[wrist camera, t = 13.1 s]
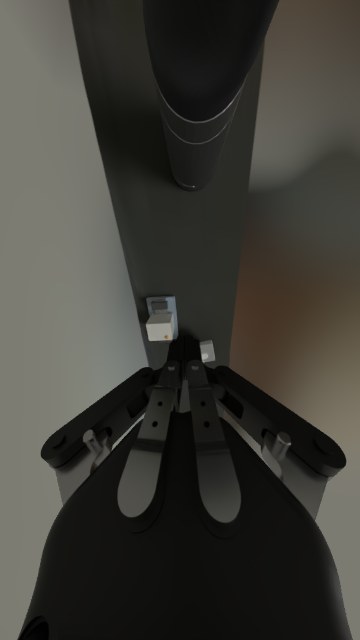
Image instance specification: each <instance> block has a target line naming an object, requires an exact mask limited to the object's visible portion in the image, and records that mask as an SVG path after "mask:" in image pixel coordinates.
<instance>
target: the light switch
mask: <svg viewBox="0 0 360 640" xmlns="http://www.w3.org/2000/svg"><path fill="white" fill-rule="evenodd" d="M200 348H201V355H202V361H203V362H208V361H214V360H215V356H214V350H213V344H212V340H210V341H205V342H200Z"/></svg>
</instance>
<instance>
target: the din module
mask: <svg viewBox="0 0 360 640" xmlns="http://www.w3.org/2000/svg"><path fill="white" fill-rule="evenodd" d="M146 328H147V332H148V337H149V341H160V340H172V339H173V333H174V318H173V312H171V314H154V313H152V314H151V316H150V318H149V320H148V321H147V323H146Z"/></svg>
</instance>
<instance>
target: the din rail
mask: <svg viewBox="0 0 360 640" xmlns="http://www.w3.org/2000/svg"><path fill="white" fill-rule="evenodd" d="M151 308H152V310H155V313H156V314H168V301H167V299H166V298H163V299H154V300H153V301H152V302H151ZM171 342H172V340H160V341H158V343H171Z"/></svg>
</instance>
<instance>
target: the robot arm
mask: <svg viewBox="0 0 360 640" xmlns="http://www.w3.org/2000/svg"><path fill="white" fill-rule="evenodd" d="M278 2H279V0H143V15H144V24H145V31H146V38H147V44H148V49H149V54H150V59H151V65H152V70H153V76H154V81H155V86H156V92H157V97H158V102H159V107H160V113H161V118H162V123H163V129H164V134H165V140H166V145H167V150H168V156H169V161H170V166H171V171H172V174H173V177H174V179H175V181H176V182H177V183H178V185H179V186H180V187H182V188H183V189H185V190H187V191H197V190H199V189H201V188H203V187H204V186H205V185H206V184H207V183H208V182H209V181H210V179H211V177H212V176H213V173H214V171H215V168H216V165H217V162H218V159H219V156H220V153H221V151H222V148H223V145H224V142H225V139H226V136H227V133H228V130H229V127H230V124H231V121H232V118H233V115H234V113H235V110H236V107H237V103H238V100H239V97H240V94H241V92H242V89H243V86H244V83H245V80H246V77H247V74H248V72H249V71H250V69H251V67H252V66H253V64H254V62H255V60H256V58H257V56H258V53H259V51H260V48H261V46H262V43H263V41H264V39H265V36H266V33H267V31H268V28H269V25H270V23H271V20H272V18H273V15H274V12H275V10H276V7H277V5H278ZM185 374H186V380H188V391H189V401H190V411H189V412H185V413H180V403H181V395H182V384H183V380H185ZM215 401H216V402H217V403H218V404H219V405H220V406H221V407H222V408H223V409H224V410H225V411H226V412H227V413H228V414H229V415H230V416H231V417H232V418H233V419H234V420H235V421H236V422H237V423H238V424H239V425H240V426H241V427H242V428H243V429H244V430H245V431H246V432H247V433H248V434H249V435H250V436H251V437H252V438H253V439H254V440H255V441H256V442H257V443H258V444H259V445H260V446H261V453H262V456H263V458H264V460H265V461H266V463H267V464H268V465H269V467H270V468H271V469H272V470H271V469H270V468H269V467H268V466H267V465H266V463H265V462H264V461H263V460H262V459H261V458H260V457H259V456H258V455H257V453H256V452H255V451H254V450H253V449H252V448H251V447H250V446H249V445H248V443H247V442H246V441H245V440H244V439H243V438H242V437H241V436H240V435H239V433H238V432H237V431H236V430H235V429H234V428H233V427H232V426H231V425H230V424H229V423H228V422H227V421H225V420H224V419H223V418H221V417H219V415H218V411H217V407H216V404H215ZM144 413H145V416H144V418H143V419H142V420H141V421H139V422H138V423H137V424H136V425H135V426H134V427H133V428H132V429H131V431H130V432H129V433H128V434H127V435H126V436H125V437H124V438H123V439H122V440H121V441H120V443H119V444H118V445H117V446H116V447H115V448H114V449H113V450H112V446H113V444H114V443H115V442H116V441H117V440H118V439H119V438H120V437H121V436H122V435H123V434H124V433H125V432H126V431H127V430H128V429H129V428H130V427H131V426H132V425H133V424H134V423H135V422H136V421H137V420H138V419H139V418H140V417H141V416H142V415H143V414H144ZM41 457H42V458H43V459H44V460H45V461H46V462H47V463H49V466H50V467H51V468H53V469H54V470H55V471H56V476H57V480H58V485H59V489H60V493H61V498H62V502H63V507H62V509H61V510H60V512H59V514H58V515H57V517H56V519H55V521H54V523H53V525H52V527H51V529H50V532H49V534H48V537H47V540H46V543H45V546H44V549H43V554H42V558H41V563H40V568H39V573H38V577H37V582H36V586H35V589H34V593H33V596H32V599H31V603H30V606H29V609H28V612H27V615H26V618H25V621H24V624H23V627H22V629H21V632H20V635H19V637H18V639H17V640H353V639H352V636H351V633H350V629H349V625H348V621H347V617H346V613H345V608H344V604H343V598H342V593H341V586H340V581H339V576H338V573H337V569H336V566H335V562H334V559H333V557H332V554H331V552H330V549H329V547H328V545H327V542H326V540H325V538H324V536H323V534H322V532H321V531H320V529H319V527H318V526H317V524H316V522H315V519H316V516H317V513H318V509H319V506H320V503H321V500H322V497H323V493H324V490H325V487H326V483H327V482H328V481H329V480H330V479H332V478H333V477H334V476H335V475H336V474H337V473H338V472H339V471H340V470H341V469H343V468H344V467H345V465H346V457H345V455H344V453H343V451H342V450H341V448H340V447H339V446H338V444H337V443H336V442H335V441H334V440H332V439H331V438H330V437H329V436H327V435H326V434H324V433H323V432H321V431H320V430H319V429H317V428H316V427H314V426H312V425H311V424H310V423H308V422H307V421H306V420H304V419H303V418H301V417H300V416H298V415H297V414H295V413H294V412H292V411H291V410H290V409H288V408H287V407H285V406H284V405H282V404H281V403H279V402H278V401H276V400H275V399H274V398H272V397H271V396H269V395H268V394H266V393H265V392H263V391H262V390H260V389H259V388H257V387H256V386H255V385H253V384H252V383H250V382H249V381H247V380H246V379H244V378H243V377H242V376H240V375H239V374H237V373H235V372H234V371H232V370H231V369H230V368H228V367H226V366H217V367H216V368H215V369H213V368H209V367H207V366H205V365H204V364H203V361H202V355H201V348H200V343H199V342H198V340H192V335H189V336H185V337H184V336H177V341H172V342H171V343H170V346H169V351H168V357H167V362H166V363H165V364H164V365H163V367H162V368H160V369H158V370H154V371H153V369H152V368H150V367H145V368H142V369H140V370H139V371H137V372H136V373H135V374H133V375H132V376H131V377H129V378H128V379H126V380H125V381H124V382H122V383H121V384H120V385H118V386H117V387H116V388H114V389H113V390H112V391H110V392H109V393H108V394H106V395H105V396H103V397H102V398H101V399H99V400H98V401H97V402H95V403H94V404H93V405H91V406H90V407H89V408H87V409H86V410H85V411H83V412H82V413H81V414H79V415H78V416H76V417H75V418H74V419H72V420H71V421H70V422H68V423H67V424H66V425H64V426H63V427H62V428H60V429H59V430H58V431H56V432H55V433H54V434H52V435H51V436H50V437H49V439H48V440H47V441H46V442H45V444H44V445H43V447H42V450H41Z"/></svg>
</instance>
